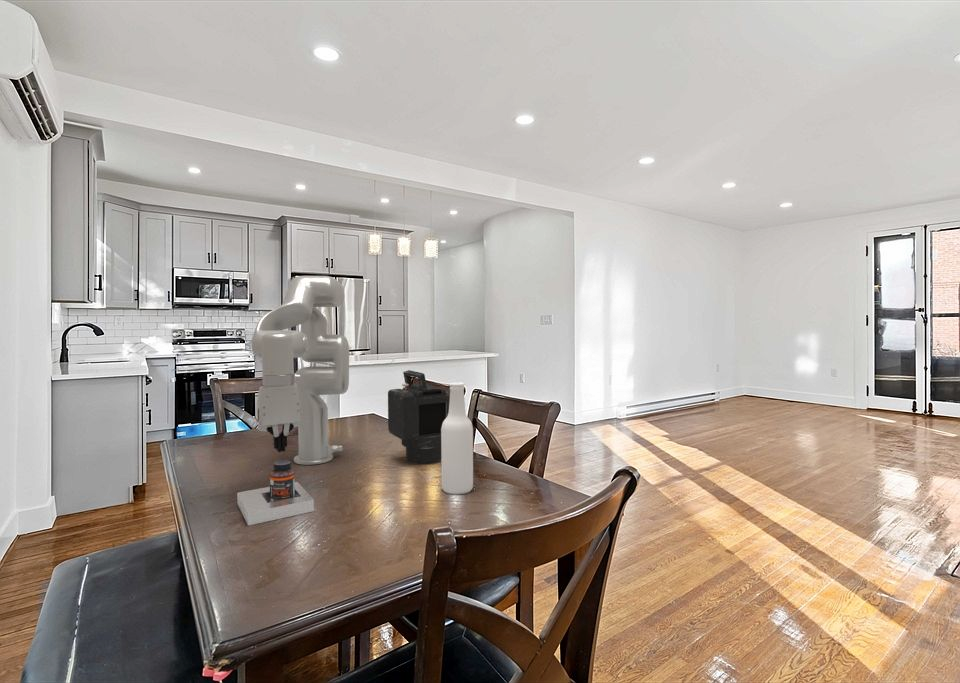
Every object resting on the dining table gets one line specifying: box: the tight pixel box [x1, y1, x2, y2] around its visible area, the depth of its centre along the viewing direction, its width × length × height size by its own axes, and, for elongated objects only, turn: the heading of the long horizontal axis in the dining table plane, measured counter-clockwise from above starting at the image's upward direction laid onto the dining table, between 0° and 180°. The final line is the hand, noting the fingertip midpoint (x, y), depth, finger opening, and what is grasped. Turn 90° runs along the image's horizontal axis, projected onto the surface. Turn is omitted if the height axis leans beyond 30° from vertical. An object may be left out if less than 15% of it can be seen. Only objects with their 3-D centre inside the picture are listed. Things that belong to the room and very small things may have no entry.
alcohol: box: [440, 381, 474, 496], centre depth 137 cm, size 9×9×30 cm
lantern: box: [387, 369, 450, 465], centre depth 166 cm, size 15×18×30 cm
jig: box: [236, 481, 315, 526], centre depth 125 cm, size 15×16×3 cm
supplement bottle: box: [269, 459, 296, 502], centre depth 126 cm, size 6×6×11 cm
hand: (280, 450), depth 128 cm, fingers closed
